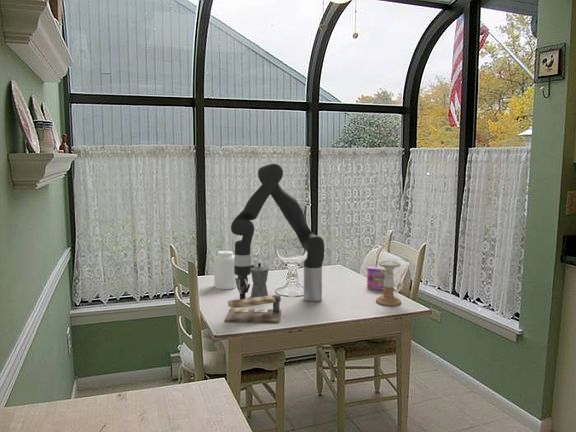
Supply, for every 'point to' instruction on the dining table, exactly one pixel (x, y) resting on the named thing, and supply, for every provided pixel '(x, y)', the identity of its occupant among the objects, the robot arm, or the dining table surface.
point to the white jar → (224, 270)
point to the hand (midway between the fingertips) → (242, 300)
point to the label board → (255, 315)
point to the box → (375, 277)
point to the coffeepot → (259, 281)
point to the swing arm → (254, 301)
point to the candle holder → (388, 285)
